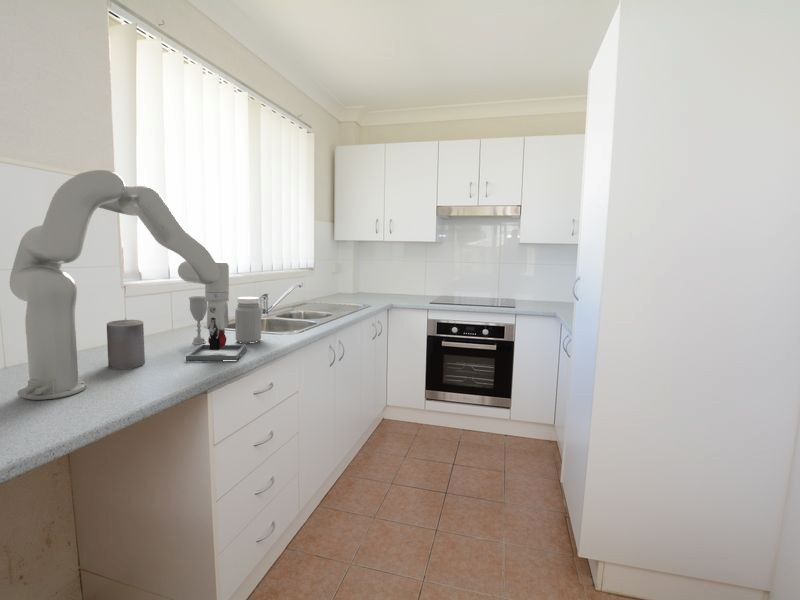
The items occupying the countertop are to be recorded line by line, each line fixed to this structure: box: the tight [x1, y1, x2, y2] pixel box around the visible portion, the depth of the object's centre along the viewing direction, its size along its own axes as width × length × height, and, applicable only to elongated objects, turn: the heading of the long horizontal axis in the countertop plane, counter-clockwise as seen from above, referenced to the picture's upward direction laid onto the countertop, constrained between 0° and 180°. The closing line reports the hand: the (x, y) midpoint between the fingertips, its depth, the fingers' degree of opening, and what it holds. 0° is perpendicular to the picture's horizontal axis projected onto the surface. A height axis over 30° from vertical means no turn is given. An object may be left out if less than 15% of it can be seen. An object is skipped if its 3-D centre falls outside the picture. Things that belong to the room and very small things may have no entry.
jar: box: [234, 295, 262, 344], centre depth 167 cm, size 10×10×18 cm
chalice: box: [188, 295, 208, 345], centre depth 161 cm, size 7×7×18 cm
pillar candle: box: [106, 317, 146, 370], centre depth 129 cm, size 10×10×15 cm
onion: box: [207, 328, 227, 349], centre depth 144 cm, size 6×6×8 cm
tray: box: [185, 343, 247, 362], centre depth 145 cm, size 16×16×2 cm
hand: (217, 347), depth 145 cm, fingers closed on onion, 5 cm apart
